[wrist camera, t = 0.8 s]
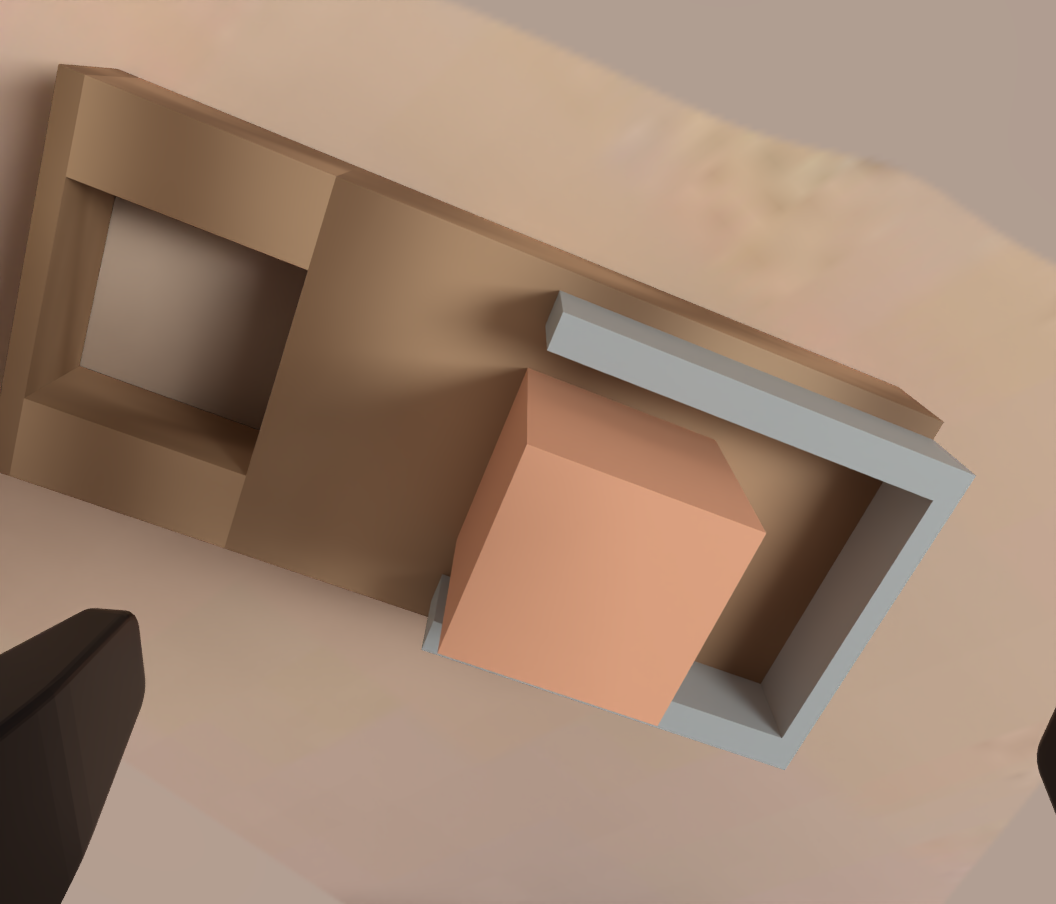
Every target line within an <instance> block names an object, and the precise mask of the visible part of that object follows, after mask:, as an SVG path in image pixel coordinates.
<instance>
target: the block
mask: <svg viewBox="0 0 1056 904" xmlns="http://www.w3.org/2000/svg"><path fill="white" fill-rule="evenodd" d="M765 535H766V531H765V530H764V528H763V526H762V524H761V522H760V520H759V519H758V517H757V515H756V513H755V511H754V510H753V508H752V506H751V504H750V502H749V500H748V499H747V497H746V495H745V493H744V491H743V490H742V488H741V486H740V484H739V482H738V480H737V479H736V477H735V475H734V473H733V471H732V469H731V468H730V466H729V464H728V462H727V460H726V459H725V457H724V455H723V453H722V451H721V449H720V448H719V446H718V444H717V442H716V440H714V439H712V438H709V437H706V436H704V435H701V434H699V433H696V432H693V431H691V430H688V429H686V428H683V427H680V426H678V425H675V424H673V423H670V422H667V421H665V420H662V419H660V418H657V417H654V416H652V415H649V414H647V413H644V412H642V411H639V410H636V409H634V408H631V407H629V406H626V405H623V404H621V403H618V402H616V401H613V400H610V399H608V398H605V397H603V396H600V395H597V394H595V393H592V392H590V391H587V390H584V389H582V388H579V387H577V386H574V385H571V384H569V383H566V382H564V381H561V380H558V379H556V378H553V377H551V376H548V375H545V374H543V373H540V372H538V371H535V370H532V369H530V368H528V369H527V371H526V373H525V376H524V378H523V381H522V383H521V386H520V388H519V390H518V393H517V395H516V398H515V400H514V402H513V405H512V407H511V410H510V412H509V414H508V417H507V419H506V422H505V424H504V427H503V429H502V431H501V434H500V436H499V439H498V441H497V443H496V446H495V448H494V451H493V453H492V456H491V458H490V460H489V463H488V465H487V468H486V470H485V472H484V475H483V477H482V480H481V482H480V485H479V487H478V489H477V492H476V494H475V497H474V499H473V501H472V504H471V506H470V509H469V511H468V514H467V516H466V518H465V521H464V523H463V526H462V528H461V530H460V533H459V535H458V538H457V541H456V547H455V553H454V558H453V564H452V570H451V576H450V582H449V588H448V594H447V600H446V606H445V612H444V617H443V623H442V629H441V635H440V641H439V647H438V654H441V655H444V656H447V657H450V658H453V659H456V660H459V661H462V662H465V663H468V664H471V665H474V666H477V667H480V668H483V669H486V670H489V671H492V672H495V673H498V674H501V675H504V676H507V677H510V678H513V679H516V680H519V681H522V682H525V683H528V684H531V685H534V686H537V687H540V688H543V689H546V690H549V691H552V692H555V693H558V694H561V695H564V696H567V697H570V698H573V699H576V700H579V701H583V702H586V703H589V704H592V705H595V706H598V707H601V708H604V709H607V710H610V711H613V712H616V713H619V714H622V715H625V716H628V717H631V718H634V719H637V720H640V721H643V722H646V723H649V724H652V725H655V726H658V725H659V723H660V721H661V719H662V717H663V716H664V714H665V712H666V710H667V709H668V707H669V705H670V703H671V701H672V700H673V698H674V696H675V694H676V693H677V691H678V689H679V687H680V686H681V684H682V682H683V680H684V678H685V677H686V675H687V673H688V671H689V670H690V668H691V666H692V664H693V663H694V661H695V659H696V657H697V655H698V654H699V652H700V650H701V648H702V647H703V645H704V643H705V641H706V639H707V638H708V636H709V634H710V632H711V631H712V629H713V627H714V625H715V624H716V622H717V620H718V618H719V616H720V615H721V613H722V611H723V609H724V608H725V606H726V604H727V602H728V600H729V599H730V597H731V595H732V593H733V592H734V590H735V588H736V586H737V585H738V583H739V581H740V579H741V577H742V576H743V574H744V572H745V570H746V569H747V567H748V565H749V563H750V562H751V560H752V558H753V556H754V554H755V553H756V551H757V549H758V547H759V546H760V544H761V542H762V540H763V538H764V537H765Z"/></svg>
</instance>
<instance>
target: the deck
mask: <svg viewBox="0 0 1056 904" xmlns="http://www.w3.org/2000/svg"><path fill="white" fill-rule="evenodd" d="M115 196H117V197H120V198H123V199H125V200H128V201H130V202H133V203H135V204H138V205H141V206H143V207H146V208H148V209H151V210H154V211H156V212H159V213H161V214H164V215H166V216H169V217H172V218H174V219H177V220H179V221H182V222H185V223H187V224H190V225H192V226H195V227H197V228H200V229H203V230H205V231H208V232H210V233H213V234H215V235H218V236H221V237H223V238H226V239H228V240H231V241H234V242H236V243H239V244H241V245H244V246H246V247H249V248H252V249H254V250H257V251H259V252H262V253H265V254H267V255H270V256H272V257H275V258H277V259H280V260H283V261H285V262H288V263H290V264H293V265H296V266H298V267H301V268H303V269H306V270H308V272H307V275H306V278H305V282H304V285H303V288H302V292H301V295H300V298H299V301H298V305H297V308H296V311H295V315H294V318H293V321H292V325H291V328H290V331H289V335H288V338H287V341H286V345H285V348H284V351H283V355H282V358H281V361H280V365H279V368H278V371H277V375H276V378H275V381H274V385H273V388H272V391H271V395H270V398H269V401H268V404H267V408H266V411H265V414H264V418H263V421H262V424H261V428H260V431H259V430H257V429H254V428H251V427H248V426H246V425H243V424H240V423H237V422H234V421H232V420H229V419H226V418H223V417H220V416H218V415H215V414H212V413H209V412H206V411H204V410H201V409H198V408H195V407H192V406H190V405H187V404H184V403H181V402H178V401H176V400H173V399H170V398H167V397H165V396H162V395H159V394H156V393H153V392H151V391H148V390H145V389H142V388H139V387H137V386H134V385H131V384H128V383H125V382H123V381H120V380H117V379H114V378H111V377H109V376H106V375H103V374H100V373H97V372H95V371H92V370H89V369H86V368H84V367H81V366H79V365H80V361H81V356H82V351H83V346H84V342H85V337H86V332H87V327H88V323H89V318H90V313H91V308H92V304H93V299H94V294H95V289H96V285H97V280H98V275H99V271H100V266H101V261H102V256H103V252H104V247H105V242H106V237H107V233H108V228H109V223H110V218H111V214H112V209H113V204H114V199H115ZM559 291H563V292H565V293H568V294H570V295H573V296H575V297H578V298H580V299H583V300H585V301H588V302H590V303H593V304H595V305H598V306H600V307H603V308H605V309H608V310H610V311H613V312H615V313H618V314H620V315H623V316H625V317H628V318H630V319H633V320H635V321H638V322H640V323H643V324H645V325H648V326H650V327H653V328H655V329H658V330H660V331H663V332H665V333H668V334H670V335H673V336H675V337H678V338H680V339H683V340H685V341H688V342H690V343H693V344H695V345H698V346H700V347H703V348H705V349H708V350H710V351H713V352H715V353H718V354H720V355H723V356H725V357H728V358H730V359H733V360H735V361H738V362H740V363H743V364H745V365H748V366H750V367H753V368H755V369H758V370H760V371H763V372H765V373H768V374H770V375H773V376H775V377H778V378H780V379H783V380H785V381H787V382H790V383H792V384H795V385H797V386H800V387H802V388H805V389H807V390H810V391H812V392H815V393H817V394H820V395H822V396H825V397H827V398H830V399H832V400H835V401H837V402H840V403H842V404H845V405H847V406H850V407H852V408H855V409H857V410H860V411H862V412H865V413H867V414H870V415H872V416H875V417H877V418H880V419H882V420H885V421H887V422H890V423H892V424H895V425H897V426H900V427H902V428H905V429H907V430H910V431H912V432H915V433H917V434H920V435H922V436H925V437H927V438H930V439H932V440H933V439H934V437H935V436H936V434H937V432H938V431H939V429H940V427H941V426H942V424H943V423H944V422H943V421H942V420H940V419H939V418H938V417H937V416H935V415H934V414H933V413H931V412H930V411H929V410H927V409H926V408H925V407H924V406H922V405H921V404H920V403H918V402H917V401H916V400H914V399H913V398H912V397H911V396H909V395H908V394H907V393H905V392H904V391H903V390H902V389H900V388H899V387H896V386H894V385H892V384H889V383H887V382H884V381H882V380H879V379H877V378H874V377H872V376H869V375H867V374H865V373H862V372H860V371H857V370H855V369H852V368H850V367H847V366H845V365H842V364H840V363H838V362H835V361H833V360H830V359H828V358H825V357H823V356H820V355H818V354H815V353H813V352H811V351H808V350H806V349H803V348H801V347H798V346H796V345H793V344H791V343H788V342H786V341H784V340H781V339H779V338H776V337H774V336H771V335H769V334H766V333H764V332H761V331H759V330H757V329H754V328H752V327H749V326H747V325H744V324H742V323H739V322H737V321H734V320H732V319H730V318H727V317H725V316H722V315H720V314H717V313H715V312H712V311H710V310H707V309H705V308H703V307H700V306H698V305H695V304H693V303H690V302H688V301H685V300H683V299H680V298H678V297H676V296H673V295H671V294H668V293H666V292H663V291H661V290H658V289H656V288H654V287H651V286H649V285H646V284H644V283H641V282H639V281H636V280H634V279H631V278H629V277H627V276H624V275H622V274H619V273H617V272H614V271H612V270H609V269H607V268H604V267H602V266H600V265H597V264H595V263H592V262H590V261H587V260H585V259H582V258H580V257H577V256H575V255H573V254H570V253H568V252H565V251H563V250H560V249H558V248H555V247H553V246H550V245H548V244H546V243H543V242H541V241H538V240H536V239H533V238H531V237H528V236H526V235H523V234H521V233H519V232H516V231H514V230H511V229H509V228H506V227H504V226H501V225H499V224H496V223H494V222H492V221H489V220H487V219H484V218H482V217H479V216H477V215H474V214H472V213H469V212H467V211H465V210H462V209H460V208H457V207H455V206H452V205H450V204H447V203H445V202H442V201H440V200H438V199H435V198H433V197H430V196H428V195H425V194H423V193H420V192H418V191H415V190H413V189H411V188H408V187H406V186H403V185H401V184H398V183H396V182H393V181H391V180H389V179H386V178H384V177H381V176H379V175H376V174H374V173H371V172H369V171H366V170H364V169H362V168H359V167H357V166H354V165H352V164H349V163H347V162H344V161H342V160H339V159H337V158H335V157H332V156H330V155H327V154H325V153H322V152H320V151H317V150H315V149H312V148H310V147H308V146H305V145H303V144H300V143H298V142H295V141H293V140H290V139H288V138H285V137H283V136H281V135H278V134H276V133H273V132H271V131H268V130H266V129H263V128H261V127H258V126H256V125H254V124H251V123H249V122H246V121H244V120H241V119H239V118H236V117H234V116H231V115H229V114H227V113H224V112H222V111H219V110H217V109H214V108H212V107H209V106H207V105H204V104H202V103H200V102H197V101H195V100H192V99H190V98H187V97H185V96H182V95H180V94H177V93H175V92H173V91H170V90H168V89H165V88H163V87H160V86H158V85H155V84H153V83H151V82H148V81H146V80H143V79H141V78H138V77H136V76H133V75H131V74H128V73H126V72H124V71H121V70H119V69H112V68H100V67H88V66H76V65H64V64H59V65H58V71H57V76H56V82H55V88H54V93H53V99H52V105H51V110H50V116H49V122H48V127H47V133H46V139H45V144H44V150H43V155H42V161H41V167H40V172H39V178H38V184H37V189H36V195H35V201H34V206H33V212H32V218H31V223H30V229H29V235H28V240H27V246H26V252H25V257H24V263H23V268H22V274H21V280H20V285H19V291H18V297H17V302H16V308H15V314H14V319H13V325H12V331H11V336H10V342H9V348H8V353H7V359H6V365H5V370H4V376H3V381H2V387H1V393H0V473H2V474H5V475H8V476H11V477H14V478H17V479H20V480H23V481H26V482H29V483H32V484H35V485H38V486H41V487H44V488H47V489H50V490H53V491H56V492H59V493H62V494H65V495H68V496H71V497H74V498H77V499H80V500H83V501H86V502H89V503H92V504H95V505H97V506H100V507H103V508H106V509H109V510H112V511H115V512H118V513H121V514H124V515H127V516H130V517H133V518H136V519H139V520H142V521H145V522H148V523H151V524H154V525H157V526H160V527H163V528H166V529H169V530H172V531H175V532H178V533H181V534H184V535H187V536H189V537H192V538H195V539H198V540H201V541H204V542H207V543H210V544H213V545H216V546H219V547H222V548H225V549H228V550H231V551H234V552H237V553H240V554H243V555H246V556H249V557H252V558H255V559H258V560H261V561H264V562H267V563H270V564H273V565H276V566H279V567H282V568H284V569H287V570H290V571H293V572H296V573H299V574H302V575H305V576H308V577H311V578H314V579H317V580H320V581H323V582H326V583H329V584H332V585H335V586H338V587H341V588H344V589H347V590H350V591H353V592H356V593H359V594H362V595H365V596H368V597H371V598H374V599H376V600H379V601H382V602H385V603H388V604H391V605H394V606H397V607H400V608H403V609H406V610H409V611H412V612H415V613H418V614H421V615H424V616H427V617H428V615H429V610H430V605H431V600H432V598H433V595H434V593H435V591H436V588H437V586H438V583H439V581H440V579H441V576H442V574H443V575H446V576H449V577H450V576H451V570H452V564H453V558H454V553H455V547H456V541H457V538H458V535H459V533H460V530H461V528H462V526H463V523H464V521H465V518H466V516H467V514H468V511H469V509H470V506H471V504H472V501H473V499H474V497H475V494H476V492H477V489H478V487H479V485H480V482H481V480H482V477H483V475H484V472H485V470H486V468H487V465H488V463H489V460H490V458H491V456H492V453H493V451H494V448H495V446H496V443H497V441H498V439H499V436H500V434H501V431H502V429H503V427H504V424H505V422H506V419H507V417H508V414H509V412H510V410H511V407H512V405H513V402H514V400H515V398H516V395H517V393H518V390H519V388H520V386H521V383H522V381H523V378H524V376H525V373H526V371H527V369H528V368H530V369H532V370H535V371H538V372H540V373H543V374H545V375H548V376H551V377H553V378H556V379H558V380H561V381H564V382H566V383H569V384H571V385H574V386H577V387H579V388H582V389H584V390H587V391H590V392H592V393H595V394H597V395H600V396H603V397H605V398H608V399H610V400H613V401H616V402H618V403H621V404H623V405H626V406H629V407H631V408H634V409H636V410H639V411H642V412H644V413H647V414H649V415H652V416H654V417H657V418H660V419H662V420H665V421H667V422H670V423H673V424H675V425H678V426H680V427H683V428H686V429H688V430H691V431H693V432H696V433H699V434H701V435H704V436H706V437H709V438H712V439H714V440H716V442H717V444H718V446H719V448H720V449H721V451H722V453H723V455H724V457H725V459H726V460H727V462H728V464H729V466H730V468H731V469H732V471H733V473H734V475H735V477H736V479H737V480H738V482H739V484H740V486H741V488H742V490H743V491H744V493H745V495H746V497H747V499H748V500H749V502H750V504H751V506H752V508H753V510H754V511H755V513H756V515H757V517H758V519H759V520H760V522H761V524H762V526H763V528H764V530H765V531H766V535H765V537H764V538H763V540H762V542H761V544H760V546H759V547H758V549H757V551H756V553H755V554H754V556H753V558H752V560H751V562H750V563H749V565H748V567H747V569H746V570H745V572H744V574H743V576H742V577H741V579H740V581H739V583H738V585H737V586H736V588H735V590H734V592H733V593H732V595H731V597H730V599H729V600H728V602H727V604H726V606H725V608H724V609H723V611H722V613H721V615H720V616H719V618H718V620H717V622H716V624H715V625H714V627H713V629H712V631H711V632H710V634H709V636H708V638H707V639H706V641H705V643H704V645H703V647H702V648H701V650H700V652H699V654H698V655H697V657H696V659H695V662H698V663H701V664H704V665H707V666H710V667H713V668H716V669H719V670H722V671H724V672H727V673H730V674H733V675H736V676H739V677H742V678H745V679H748V680H751V681H753V682H756V683H759V684H761V683H762V681H763V679H764V678H765V676H766V674H767V673H768V671H769V669H770V668H771V666H772V664H773V663H774V661H775V659H776V658H777V656H778V655H779V653H780V651H781V650H782V648H783V646H784V645H785V643H786V641H787V640H788V638H789V636H790V635H791V633H792V631H793V630H794V628H795V626H796V625H797V623H798V622H799V620H800V618H801V617H802V615H803V613H804V612H805V610H806V608H807V607H808V605H809V603H810V602H811V600H812V598H813V597H814V595H815V593H816V592H817V590H818V589H819V587H820V585H821V584H822V582H823V580H824V579H825V577H826V575H827V574H828V572H829V570H830V569H831V567H832V565H833V564H834V562H835V560H836V559H837V557H838V556H839V554H840V552H841V551H842V549H843V547H844V546H845V544H846V542H847V541H848V539H849V537H850V536H851V534H852V532H853V531H854V529H855V528H856V526H857V524H858V523H859V521H860V519H861V518H862V516H863V514H864V513H865V511H866V509H867V508H868V506H869V504H870V503H871V501H872V499H873V498H874V496H875V495H876V493H877V491H878V490H879V488H880V486H881V485H882V483H883V481H881V480H879V479H876V478H873V477H871V476H868V475H866V474H863V473H861V472H858V471H856V470H853V469H850V468H848V467H845V466H843V465H840V464H838V463H835V462H832V461H830V460H827V459H825V458H822V457H820V456H817V455H814V454H812V453H809V452H807V451H804V450H802V449H799V448H796V447H794V446H791V445H789V444H786V443H784V442H781V441H778V440H776V439H773V438H771V437H768V436H766V435H763V434H760V433H758V432H755V431H753V430H750V429H748V428H745V427H743V426H740V425H737V424H735V423H732V422H730V421H727V420H725V419H722V418H719V417H717V416H714V415H712V414H709V413H707V412H704V411H701V410H699V409H696V408H694V407H691V406H689V405H686V404H683V403H681V402H678V401H676V400H673V399H671V398H668V397H665V396H663V395H660V394H658V393H655V392H653V391H650V390H647V389H645V388H642V387H640V386H637V385H635V384H632V383H630V382H627V381H624V380H622V379H619V378H617V377H614V376H612V375H609V374H606V373H604V372H601V371H599V370H596V369H594V368H591V367H588V366H586V365H583V364H581V363H578V362H576V361H573V360H570V359H568V358H565V357H563V356H560V355H558V354H555V353H552V352H550V351H547V343H546V328H545V325H546V322H547V320H548V318H549V315H550V313H551V310H552V308H553V306H554V303H555V301H556V298H557V296H558V293H559Z"/></svg>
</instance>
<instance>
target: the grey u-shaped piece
mask: <svg viewBox="0 0 1056 904" xmlns="http://www.w3.org/2000/svg"><path fill="white" fill-rule="evenodd" d="M545 328H546V343H547V351H550V352H552V353H555V354H558V355H560V356H563V357H565V358H568V359H570V360H573V361H576V362H578V363H581V364H583V365H586V366H588V367H591V368H594V369H596V370H599V371H601V372H604V373H606V374H609V375H612V376H614V377H617V378H619V379H622V380H624V381H627V382H630V383H632V384H635V385H637V386H640V387H642V388H645V389H647V390H650V391H653V392H655V393H658V394H660V395H663V396H665V397H668V398H671V399H673V400H676V401H678V402H681V403H683V404H686V405H689V406H691V407H694V408H696V409H699V410H701V411H704V412H707V413H709V414H712V415H714V416H717V417H719V418H722V419H725V420H727V421H730V422H732V423H735V424H737V425H740V426H743V427H745V428H748V429H750V430H753V431H755V432H758V433H760V434H763V435H766V436H768V437H771V438H773V439H776V440H778V441H781V442H784V443H786V444H789V445H791V446H794V447H796V448H799V449H802V450H804V451H807V452H809V453H812V454H814V455H817V456H820V457H822V458H825V459H827V460H830V461H832V462H835V463H838V464H840V465H843V466H845V467H848V468H850V469H853V470H856V471H858V472H861V473H863V474H866V475H868V476H871V477H873V478H876V479H879V480H881V481H883V483H882V485H881V486H880V488H879V490H878V491H877V493H876V495H875V496H874V498H873V499H872V501H871V503H870V504H869V506H868V508H867V509H866V511H865V513H864V514H863V516H862V518H861V519H860V521H859V523H858V524H857V526H856V528H855V529H854V531H853V532H852V534H851V536H850V537H849V539H848V541H847V542H846V544H845V546H844V547H843V549H842V551H841V552H840V554H839V556H838V557H837V559H836V560H835V562H834V564H833V565H832V567H831V569H830V570H829V572H828V574H827V575H826V577H825V579H824V580H823V582H822V584H821V585H820V587H819V589H818V590H817V592H816V593H815V595H814V597H813V598H812V600H811V602H810V603H809V605H808V607H807V608H806V610H805V612H804V613H803V615H802V617H801V618H800V620H799V622H798V623H797V625H796V626H795V628H794V630H793V631H792V633H791V635H790V636H789V638H788V640H787V641H786V643H785V645H784V646H783V648H782V650H781V651H780V653H779V655H778V656H777V658H776V659H775V661H774V663H773V664H772V666H771V668H770V669H769V671H768V673H767V674H766V676H765V678H764V679H763V681H762V683H761V684H759V683H756V682H753V681H751V680H748V679H745V678H742V677H739V676H736V675H733V674H730V673H727V672H724V671H722V670H719V669H716V668H713V667H710V666H707V665H704V664H701V663H698V662H695V661H694V663H693V664H692V666H691V668H690V670H689V671H688V673H687V675H686V677H685V678H684V680H683V682H682V684H681V686H680V687H679V689H678V691H677V693H676V694H675V696H674V698H673V700H672V701H671V703H670V705H669V707H668V709H667V710H666V712H665V714H664V716H663V717H662V719H661V721H660V723H659V725H658V726H655V725H652V724H649V723H646V722H643V721H640V720H637V719H634V718H631V717H628V716H625V715H622V714H619V713H616V712H613V711H610V710H607V709H604V708H601V707H598V706H595V705H592V704H589V703H586V702H583V701H579V700H576V699H573V698H570V697H567V696H564V695H561V694H558V693H555V692H552V691H549V690H546V689H543V688H540V687H537V686H534V685H531V684H528V683H525V682H522V681H519V680H516V679H513V678H510V677H507V676H504V675H501V674H498V673H495V672H492V671H489V670H486V669H483V668H480V667H477V666H474V665H471V664H468V663H465V662H462V661H459V660H456V659H453V658H450V657H447V656H444V655H441V654H438V647H439V641H440V635H441V629H442V623H443V617H444V612H445V606H446V600H447V594H448V588H449V582H450V577H449V576H446V575H443V574H442V576H441V579H440V581H439V583H438V586H437V588H436V591H435V593H434V595H433V598H432V600H431V605H430V610H429V615H428V620H427V625H426V630H425V635H424V640H423V645H422V650H424V651H427V652H430V653H433V654H436V655H439V656H442V657H445V658H448V659H451V660H454V661H457V662H460V663H463V664H466V665H469V666H472V667H475V668H478V669H481V670H484V671H487V672H490V673H493V674H496V675H499V676H502V677H505V678H508V679H511V680H514V681H517V682H520V683H523V684H526V685H529V686H532V687H535V688H539V689H542V690H545V691H548V692H551V693H554V694H557V695H560V696H563V697H566V698H569V699H572V700H575V701H578V702H581V703H584V704H587V705H590V706H593V707H596V708H599V709H602V710H605V711H608V712H611V713H614V714H617V715H620V716H623V717H626V718H629V719H632V720H635V721H638V722H641V723H644V724H647V725H650V726H653V727H656V728H659V729H662V730H665V731H668V732H671V733H674V734H677V735H680V736H684V737H687V738H690V739H693V740H696V741H699V742H702V743H705V744H708V745H711V746H714V747H717V748H720V749H723V750H726V751H729V752H732V753H735V754H738V755H741V756H744V757H747V758H750V759H753V760H756V761H759V762H762V763H765V764H768V765H771V766H774V767H777V768H780V769H783V770H785V769H786V768H787V766H788V765H789V763H790V762H791V760H792V758H793V757H794V755H795V754H796V752H797V751H798V749H799V748H800V746H801V745H802V743H803V741H804V740H805V738H806V737H807V735H808V734H809V732H810V731H811V729H812V728H813V726H814V725H815V723H816V721H817V720H818V718H819V717H820V715H821V714H822V712H823V711H824V709H825V708H826V706H827V704H828V703H829V701H830V700H831V698H832V697H833V695H834V694H835V692H836V691H837V689H838V688H839V686H840V684H841V683H842V681H843V680H844V678H845V677H846V675H847V674H848V672H849V671H850V669H851V667H852V666H853V664H854V663H855V661H856V660H857V658H858V657H859V655H860V654H861V652H862V651H863V649H864V647H865V646H866V644H867V643H868V641H869V640H870V638H871V637H872V635H873V634H874V632H875V630H876V629H877V627H878V626H879V624H880V623H881V621H882V620H883V618H884V617H885V615H886V614H887V612H888V610H889V609H890V607H891V606H892V604H893V603H894V601H895V600H896V598H897V597H898V595H899V593H900V592H901V590H902V589H903V587H904V586H905V584H906V583H907V581H908V580H909V578H910V577H911V575H912V573H913V572H914V570H915V569H916V567H917V566H918V564H919V563H920V561H921V560H922V558H923V556H924V555H925V553H926V552H927V550H928V549H929V547H930V546H931V544H932V543H933V541H934V540H935V538H936V536H937V535H938V533H939V532H940V530H941V529H942V527H943V526H944V524H945V523H946V521H947V519H948V518H949V516H950V515H951V513H952V512H953V510H954V509H955V507H956V506H957V504H958V503H959V501H960V499H961V498H962V496H963V495H964V493H965V492H966V490H967V489H968V487H969V486H970V484H971V482H972V481H973V479H974V478H975V476H976V475H974V474H973V473H972V472H971V471H970V470H969V469H967V468H966V467H965V466H964V465H963V464H961V463H960V462H959V461H958V460H957V459H955V458H954V457H953V456H952V455H951V454H949V453H948V452H947V451H946V450H945V449H943V448H942V447H941V446H940V445H939V444H937V443H936V442H935V441H934V440H932V439H930V438H927V437H925V436H922V435H920V434H917V433H915V432H912V431H910V430H907V429H905V428H902V427H900V426H897V425H895V424H892V423H890V422H887V421H885V420H882V419H880V418H877V417H875V416H872V415H870V414H867V413H865V412H862V411H860V410H857V409H855V408H852V407H850V406H847V405H845V404H842V403H840V402H837V401H835V400H832V399H830V398H827V397H825V396H822V395H820V394H817V393H815V392H812V391H810V390H807V389H805V388H802V387H800V386H797V385H795V384H792V383H790V382H787V381H785V380H783V379H780V378H778V377H775V376H773V375H770V374H768V373H765V372H763V371H760V370H758V369H755V368H753V367H750V366H748V365H745V364H743V363H740V362H738V361H735V360H733V359H730V358H728V357H725V356H723V355H720V354H718V353H715V352H713V351H710V350H708V349H705V348H703V347H700V346H698V345H695V344H693V343H690V342H688V341H685V340H683V339H680V338H678V337H675V336H673V335H670V334H668V333H665V332H663V331H660V330H658V329H655V328H653V327H650V326H648V325H645V324H643V323H640V322H638V321H635V320H633V319H630V318H628V317H625V316H623V315H620V314H618V313H615V312H613V311H610V310H608V309H605V308H603V307H600V306H598V305H595V304H593V303H590V302H588V301H585V300H583V299H580V298H578V297H575V296H573V295H570V294H568V293H565V292H563V291H559V293H558V296H557V298H556V301H555V303H554V306H553V308H552V310H551V313H550V315H549V318H548V320H547V322H546V325H545Z"/></svg>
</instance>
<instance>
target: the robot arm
mask: <svg viewBox="0 0 1056 904" xmlns="http://www.w3.org/2000/svg"><path fill="white" fill-rule="evenodd" d="M144 693H145V674H144V665H143V657H142V648H141V640H140V631H139V625H138V621H137V619H136V617H135V615H133V614H132V613H131V612H129V611H124V610H111V609H99V608H90V609H86V610H84V611H82V612H79V613H78V614H76V615H74V616H72V617H70V618H68V619H66V620H64V621H63V622H61V623H59V624H57V625H55V626H53V627H51V628H49V629H47V630H46V631H44V632H42V633H40V634H38V635H36V636H34V637H32V638H30V639H29V640H27V641H25V642H23V643H21V644H19V645H17V646H15V647H13V648H12V649H10V650H8V651H6V652H4V653H2V654H0V904H61V902H62V900H63V898H64V896H65V894H66V892H67V890H68V888H69V886H70V884H71V882H72V880H73V878H74V876H75V874H76V872H77V870H78V867H79V866H80V863H81V861H82V859H83V857H84V855H85V852H86V850H87V847H88V845H89V842H90V840H91V837H92V835H93V832H94V830H95V827H96V825H97V822H98V819H99V817H100V814H101V811H102V809H103V806H104V804H105V801H106V798H107V796H108V793H109V791H110V788H111V785H112V783H113V780H114V777H115V774H116V772H117V769H118V767H119V764H120V762H121V759H122V756H123V754H124V751H125V748H126V746H127V743H128V740H129V738H130V735H131V733H132V730H133V727H134V725H135V722H136V719H137V717H138V714H139V711H140V709H141V706H142V702H143V698H144ZM1037 764H1038V769H1039V773H1040V776H1041V778H1042V781H1043V783H1044V786H1045V788H1046V791H1047V793H1048V796H1049V798H1050V801H1051V803H1052V806H1053V808H1054V811H1055V813H1056V708H1055V710H1054V712H1053V715H1052V717H1051V719H1050V721H1049V723H1048V725H1047V728H1046V730H1045V732H1044V734H1043V736H1042V738H1041V741H1040V743H1039V746H1038V751H1037Z"/></svg>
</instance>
